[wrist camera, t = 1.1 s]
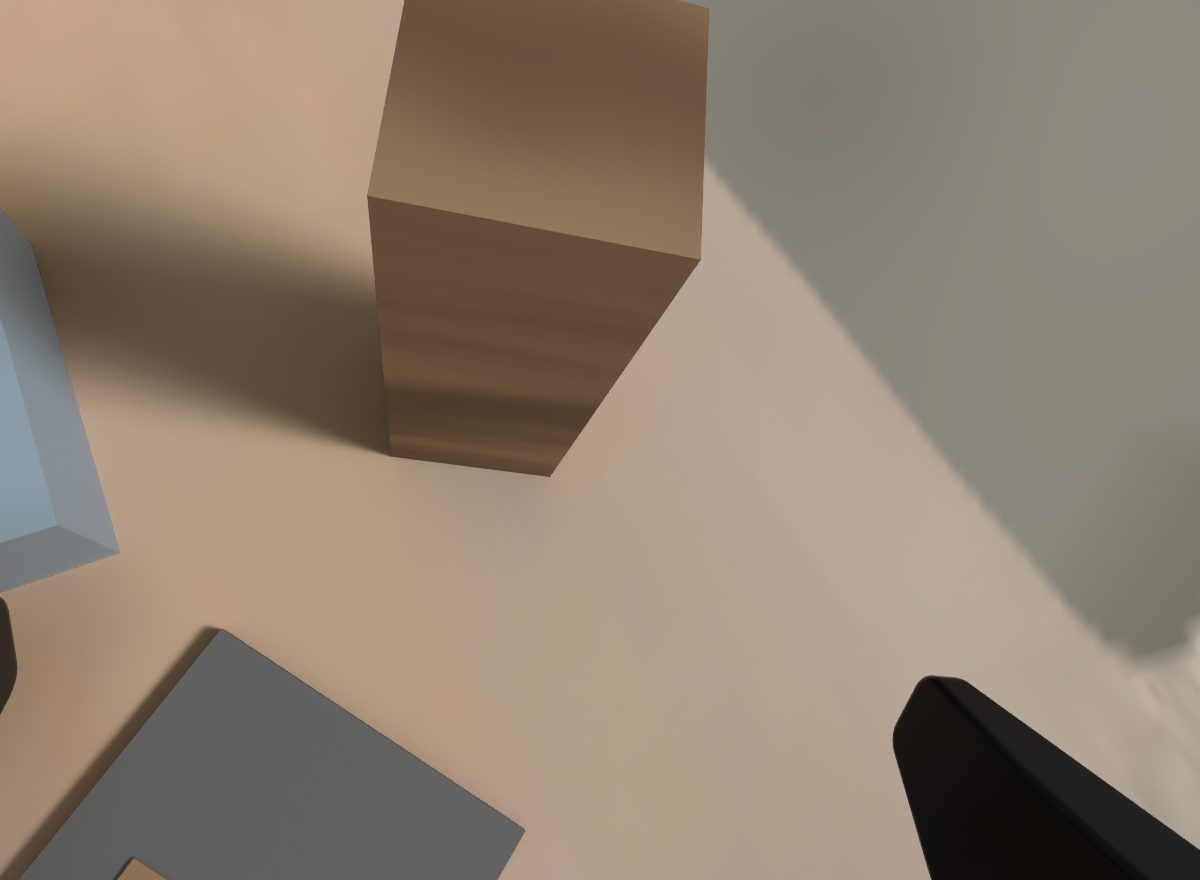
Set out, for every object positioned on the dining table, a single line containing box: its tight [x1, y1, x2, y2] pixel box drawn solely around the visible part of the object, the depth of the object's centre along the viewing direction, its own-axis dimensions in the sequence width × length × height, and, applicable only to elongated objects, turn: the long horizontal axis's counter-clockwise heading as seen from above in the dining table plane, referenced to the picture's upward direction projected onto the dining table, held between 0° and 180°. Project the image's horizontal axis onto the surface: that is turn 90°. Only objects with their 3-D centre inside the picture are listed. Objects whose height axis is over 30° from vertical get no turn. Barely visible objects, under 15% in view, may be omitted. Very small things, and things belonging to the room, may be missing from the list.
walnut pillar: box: [367, 0, 709, 477], centre depth 17 cm, size 4×4×12 cm
